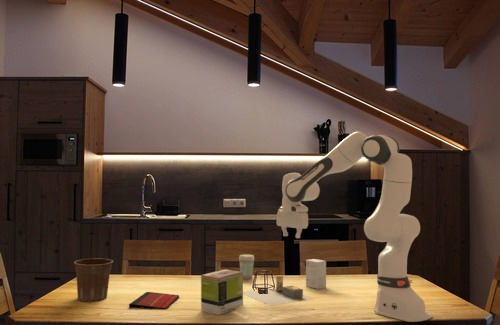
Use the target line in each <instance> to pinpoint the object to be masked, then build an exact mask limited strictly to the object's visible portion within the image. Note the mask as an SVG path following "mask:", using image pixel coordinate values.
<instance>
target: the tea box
mask: <svg viewBox="0 0 500 325" xmlns="http://www.w3.org/2000/svg"><path fill="white" fill-rule="evenodd" d="M243 281H244V280H243V272H240V270H239V271H238V270H232V269H225V268H224V269H222V270H221V269H220V270H216V271H212V272H208V273H205V274H201V275H200V304H201V305H200V306H201V307H200V310H201V311H202V312H204V313H207V314H212V315H216V316H221V315H223V314H227V313H229V312H231V311H232V312H233V311H235V310H236V309H235V308H236V307H239V306H241V305H242V306H243V304H244V294H243V291H244V284H243V283H244V282H243Z"/></svg>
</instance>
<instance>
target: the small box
mask: <svg viewBox="0 0 500 325" xmlns="http://www.w3.org/2000/svg"><path fill="white" fill-rule="evenodd" d="M305 286H306V287H309V288H313V289H315V290H316V289H317V290H319V289H324V288H327V260H322V259H316V258H312V259H310V258H309V259H305Z"/></svg>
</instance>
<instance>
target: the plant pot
mask: <svg viewBox="0 0 500 325" xmlns="http://www.w3.org/2000/svg"><path fill="white" fill-rule="evenodd" d="M113 263H114V260H113V259H109V258H83V259H78V260H74V262H73V264H74V265H75V266H74V268H75V273H76V274H75V275H76V287H77V288H76V290H77V300H78V301H80V302H91V301H94V302H99V301H103V300H106V299H107V297H108V289H109V283H110V274H111V271H112V265H113Z"/></svg>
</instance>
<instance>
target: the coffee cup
mask: <svg viewBox="0 0 500 325" xmlns="http://www.w3.org/2000/svg"><path fill="white" fill-rule="evenodd" d="M238 261H239V262H238V263H239V272H243V279H244V280H251V279H253V272H254V265H255V256H254V254H250V253H249V254H246V253H245V254H240V255H239V257H238Z"/></svg>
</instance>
